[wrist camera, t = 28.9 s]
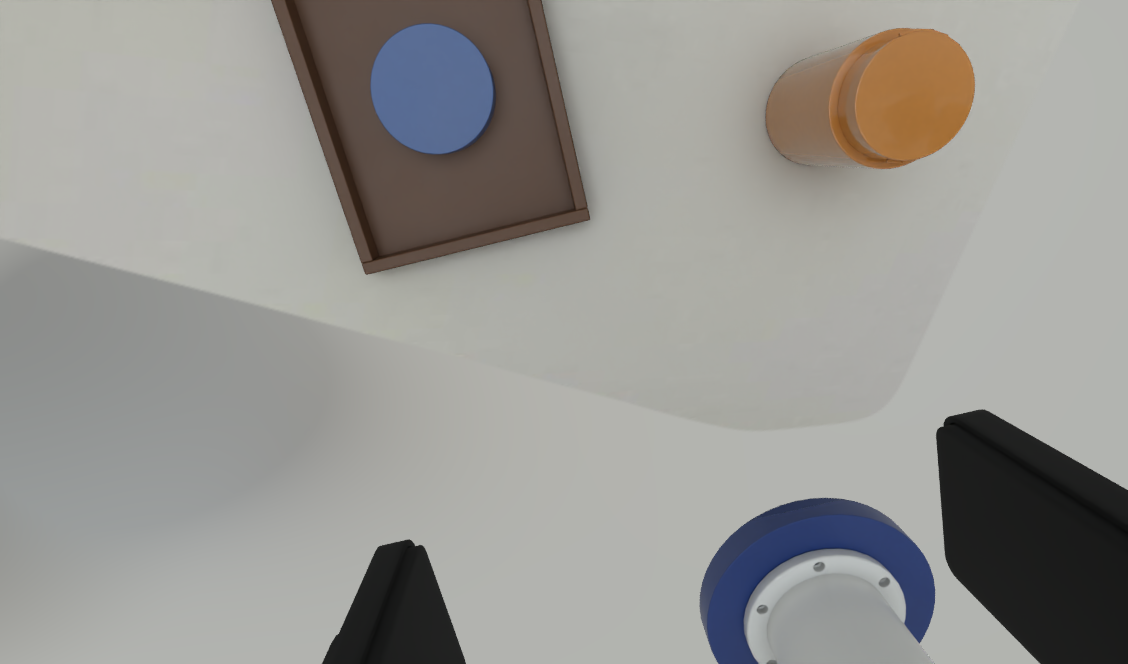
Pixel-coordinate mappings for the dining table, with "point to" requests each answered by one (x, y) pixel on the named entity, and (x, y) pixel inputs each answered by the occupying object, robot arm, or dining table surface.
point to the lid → (432, 89)
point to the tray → (437, 181)
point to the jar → (873, 101)
